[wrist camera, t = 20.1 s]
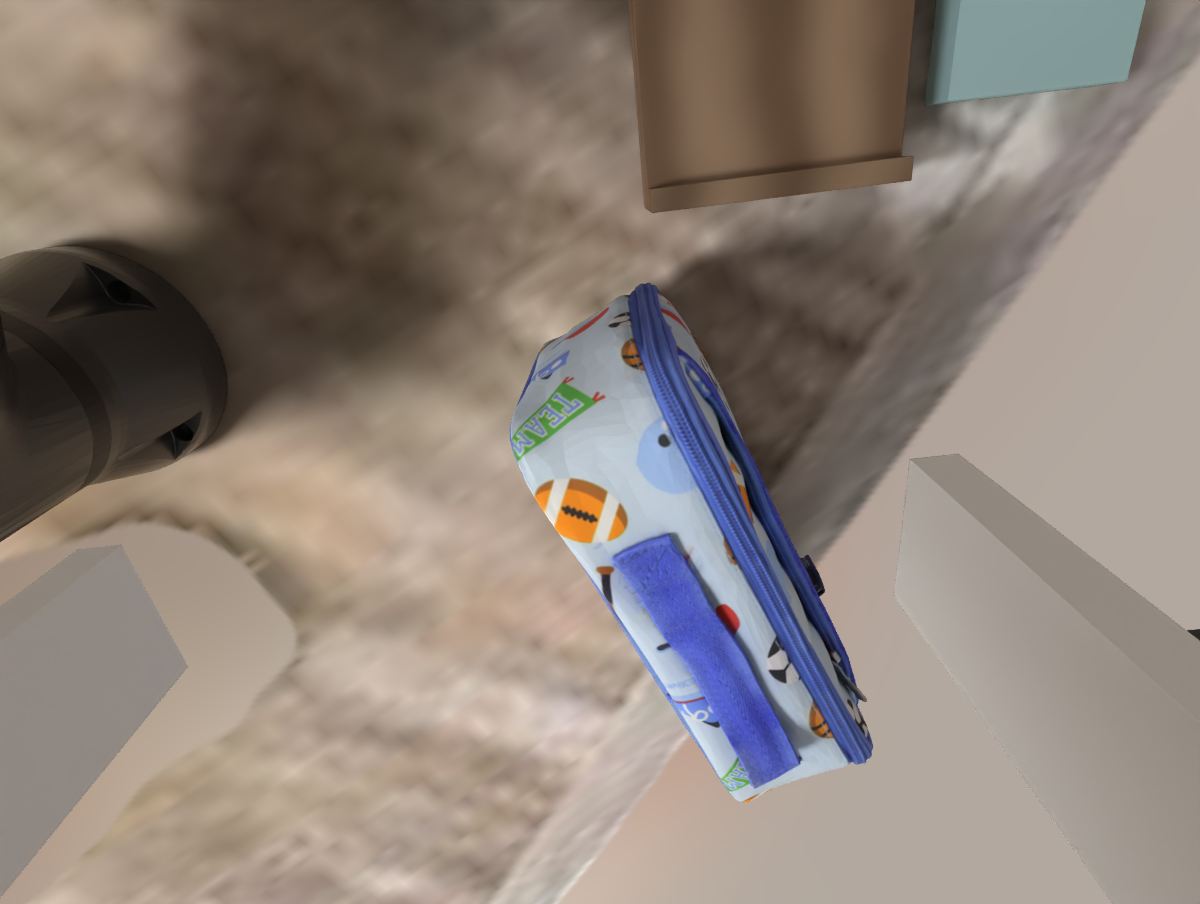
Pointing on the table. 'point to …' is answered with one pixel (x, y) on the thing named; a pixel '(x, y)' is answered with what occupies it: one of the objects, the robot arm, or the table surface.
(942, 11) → the teal rectangular block
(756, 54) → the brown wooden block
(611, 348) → the lunch box
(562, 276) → the table surface
